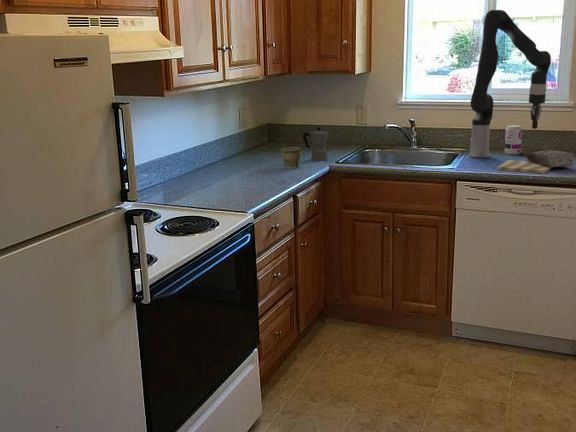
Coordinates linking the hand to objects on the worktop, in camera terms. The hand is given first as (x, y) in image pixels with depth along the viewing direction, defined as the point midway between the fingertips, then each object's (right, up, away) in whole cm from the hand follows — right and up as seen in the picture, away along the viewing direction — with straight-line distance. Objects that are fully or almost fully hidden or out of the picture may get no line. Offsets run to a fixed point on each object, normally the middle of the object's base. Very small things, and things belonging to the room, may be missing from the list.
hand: (534, 128), depth 312 cm
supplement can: (+1, -9, +33) cm, 34 cm away
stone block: (+3, -13, +5) cm, 14 cm away
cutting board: (-7, -20, -6) cm, 22 cm away
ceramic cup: (-120, -19, +11) cm, 122 cm away
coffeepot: (-107, -13, +31) cm, 112 cm away
